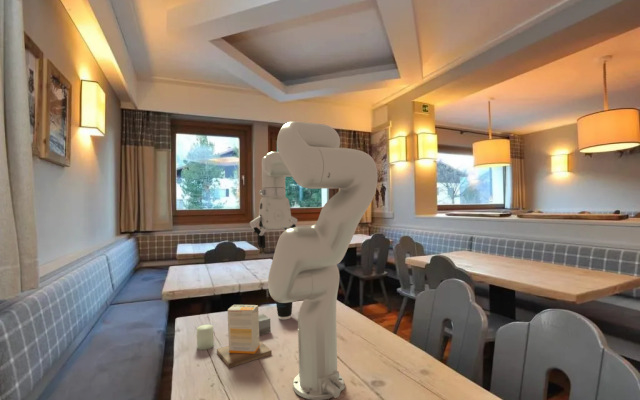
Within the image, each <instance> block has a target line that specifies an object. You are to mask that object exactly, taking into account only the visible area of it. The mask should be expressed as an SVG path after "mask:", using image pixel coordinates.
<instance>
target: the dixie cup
mask: <svg viewBox="0 0 640 400" xmlns="http://www.w3.org/2000/svg"><path fill="white" fill-rule="evenodd" d="M275 303H276V304H275V305H276V313H277V316H278V319H279V320H289V319H291V317H292V312H293V302H288V303H279V302H277V301H275Z"/></svg>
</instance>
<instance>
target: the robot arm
mask: <svg viewBox="0 0 640 400" xmlns="http://www.w3.org/2000/svg"><path fill="white" fill-rule="evenodd" d="M276 145H277V146H276V147H277V151H270V152H268V153H266V155H265V156H263V157H262V158H261V189H260V190H258V194H259V195H261V198H260V200H259V206H258V216H257V217H256V218H254V219H253V220H251V221H250V222H249V223H248V224H249V225H250V227H251V230H252V231H253V233H255V234H256V235H257V246H258V248H259V249H265V248H266V236H265V235H264V234H265V232H266V231H267V230H278V229H283V232H282V233H281V234H280V235H279V238H278V241H277V243H276V246H275V250H274V253H273V257H272V262H271V265H270V268H269V273H268V277H267V279H268V280H267V285H268V288H267V290H268V293H269V295H270V297H271V298H272V299H273V300H274V302H276V301H277V302H279V303H288V302H292V303H293V302H299V301H302V303H301V305H300V308H299V310H298V314H297V339H298V340H297V341H298V374H297V375H296V376H295V377H294V378H293V381H292V389H293V390H294V392H295V394H296V395H298V396H299V397H301V398H302V399H303V398H304V399H306V400H329V399H331V398H332V399H333V398H335V399H336V398H339V397H340V395H341V392H342V391H343V390H345V388H346V387H345V386H346V385H345V381H344V377H343V376H342V375H341V374H340V371H339V370H338V343H337V342H338V341H337V340H338V339H337V338H338V336H337V333H338V332H337V300H338V291H339V286H340V269H339V267H338V264H339V263H341V262H342V260H343V259H344V257H345V256H346V253H347V250H348V248H349V247H350V243H351V242H352V240H353V238H354V234H356V233H355V232H356V230H357V227H358V225H359V223H360V222H361V220H362V218H363V216H364V215H365V213H366V212H367V210H368V209H369V206H370V205H371V204H372V202H373V199H374V197H375V194H376V191H377V186H378V176H379V175H378V174H379V173H378V169H377V163H376V162H375V160H374V158H373V156H371V155H370V154H368V153H366V152H365V151H362V150H359V149H354V148H347V147H345V148H344V147H340V146H341V137H340V136H339V133H338V132H337V130H335V128H333V127H332V126H329V125H326V124H321V123H316V122H315V123H313V122H303V121H288V122H287V123H285V124H283V125H282V127H281V128H280V130H279V132H278V134H277V140H276ZM286 177H287V178H288V177H289V178H291V177H292V179H293V180H294V181H295V182H296V184H297V185H298V186H300V187H302V188H305V189H311V190H312V189H339V190H338V191H337V192H336V193H335V194H334V195H332V197H330V198H329V199H328V201H326V203H325V204H324V205H323V207H322V208H321V211H320V213H319V215H318V218H317V221H316V223H314V224H312V225H306V226H297V224H298V220H299V219H297V217H294V216H293V215H292V211H291V206H290V201H289V197H286ZM257 224H258V227H257Z"/></svg>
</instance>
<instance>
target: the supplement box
mask: <svg viewBox="0 0 640 400" xmlns="http://www.w3.org/2000/svg"><path fill="white" fill-rule="evenodd" d="M259 315H260V314H259V305H258V304H257V305H256V304H233V305H231V306H230V307H229V308H228V309H227V331H228V332H227V333H228V346H229V353H247V354H255V353H256V351H257V350H258V349H259V347H260V343H259V340H260V336H259Z"/></svg>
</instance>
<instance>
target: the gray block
mask: <svg viewBox="0 0 640 400" xmlns="http://www.w3.org/2000/svg"><path fill="white" fill-rule="evenodd" d="M271 327H272V326H271V318H270V317H269V316H267V315H266V314H264V313H260V314H259V337H260V336H262V335H268V334H270V333H271V330H272V329H271Z"/></svg>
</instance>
